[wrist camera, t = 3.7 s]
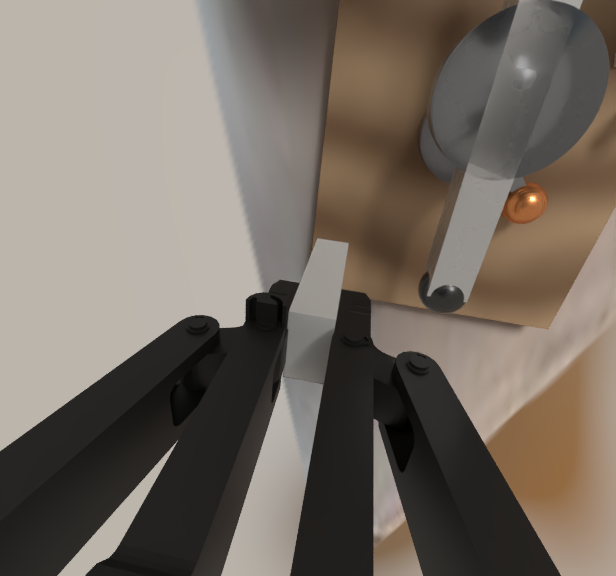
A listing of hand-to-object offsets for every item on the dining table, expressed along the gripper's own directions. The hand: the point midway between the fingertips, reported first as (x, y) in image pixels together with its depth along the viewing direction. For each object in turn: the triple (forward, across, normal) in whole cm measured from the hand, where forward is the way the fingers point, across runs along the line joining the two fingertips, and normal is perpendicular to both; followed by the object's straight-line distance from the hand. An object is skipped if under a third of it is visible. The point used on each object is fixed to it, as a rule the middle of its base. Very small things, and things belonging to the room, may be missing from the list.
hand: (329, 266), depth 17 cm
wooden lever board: (+10, +7, +5) cm, 13 cm away
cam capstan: (+8, +7, +8) cm, 13 cm away
